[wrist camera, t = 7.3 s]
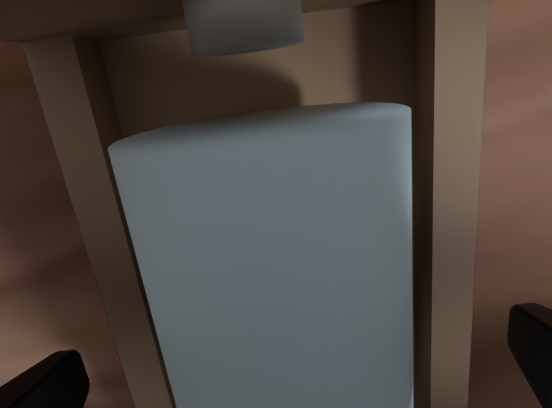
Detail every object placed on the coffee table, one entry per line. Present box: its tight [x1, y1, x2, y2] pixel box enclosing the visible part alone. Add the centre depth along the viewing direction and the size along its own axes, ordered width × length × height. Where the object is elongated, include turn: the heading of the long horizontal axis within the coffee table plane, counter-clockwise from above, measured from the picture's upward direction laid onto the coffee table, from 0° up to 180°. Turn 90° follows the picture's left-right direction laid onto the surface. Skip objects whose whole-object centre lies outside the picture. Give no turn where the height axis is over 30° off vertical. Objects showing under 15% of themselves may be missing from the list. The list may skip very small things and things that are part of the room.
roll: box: [108, 102, 414, 408], centre depth 8 cm, size 9×5×5 cm, turn 7°
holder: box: [0, 0, 489, 408], centre depth 9 cm, size 15×9×5 cm, turn 7°
